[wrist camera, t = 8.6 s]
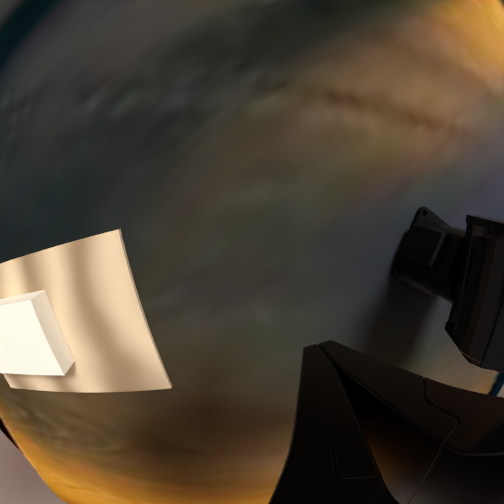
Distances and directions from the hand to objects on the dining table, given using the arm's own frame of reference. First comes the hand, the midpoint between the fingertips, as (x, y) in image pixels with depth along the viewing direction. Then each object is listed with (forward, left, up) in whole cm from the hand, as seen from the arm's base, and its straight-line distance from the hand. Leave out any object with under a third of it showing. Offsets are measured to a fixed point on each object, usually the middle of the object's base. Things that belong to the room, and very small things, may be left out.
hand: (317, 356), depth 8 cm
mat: (+15, +14, -13) cm, 25 cm away
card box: (+13, +13, -11) cm, 22 cm away
